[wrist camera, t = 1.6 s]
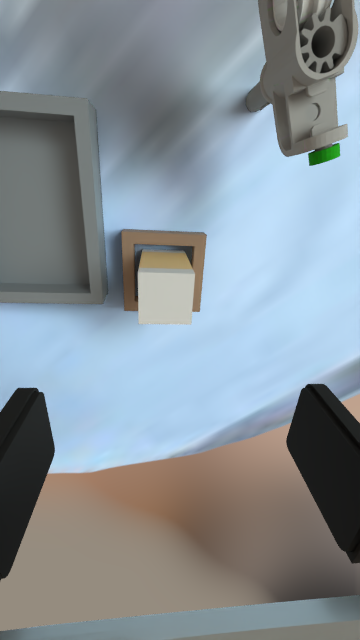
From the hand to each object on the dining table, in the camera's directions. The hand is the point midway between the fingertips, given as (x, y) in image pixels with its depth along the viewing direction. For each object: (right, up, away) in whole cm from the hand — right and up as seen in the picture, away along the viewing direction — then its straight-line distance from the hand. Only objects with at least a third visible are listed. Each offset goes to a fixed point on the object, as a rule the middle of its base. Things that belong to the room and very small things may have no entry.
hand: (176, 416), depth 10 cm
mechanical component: (+6, +21, +12) cm, 25 cm away
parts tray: (-12, +13, +14) cm, 23 cm away
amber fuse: (-2, +8, +17) cm, 19 cm away
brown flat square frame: (-2, +8, +17) cm, 19 cm away
